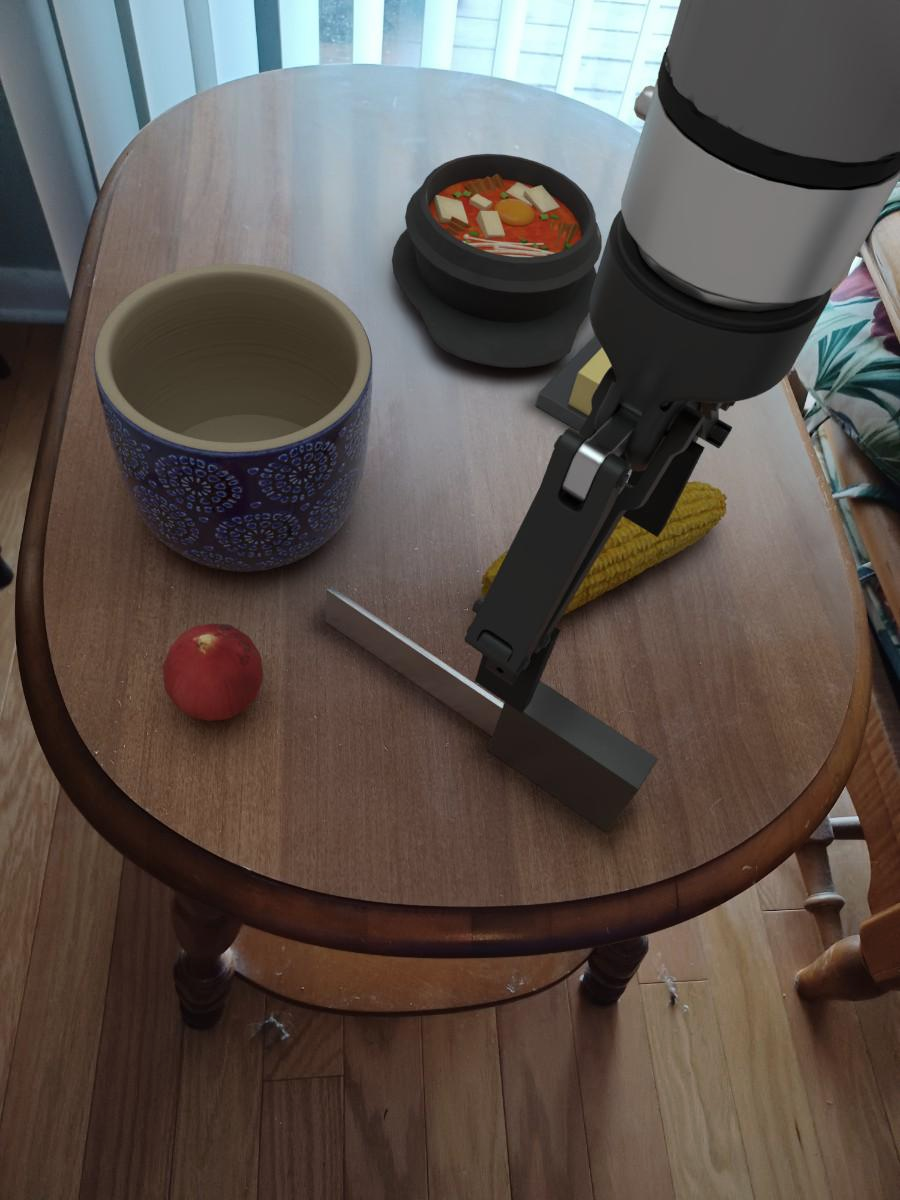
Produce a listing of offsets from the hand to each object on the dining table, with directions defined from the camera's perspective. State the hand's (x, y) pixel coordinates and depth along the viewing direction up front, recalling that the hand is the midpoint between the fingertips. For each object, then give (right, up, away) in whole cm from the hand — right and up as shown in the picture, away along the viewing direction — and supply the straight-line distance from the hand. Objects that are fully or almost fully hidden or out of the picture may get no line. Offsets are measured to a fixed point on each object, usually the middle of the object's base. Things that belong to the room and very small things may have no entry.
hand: (575, 600), depth 48 cm
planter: (-21, +7, +21) cm, 30 cm away
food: (+5, +2, +22) cm, 22 cm away
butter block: (+7, +16, +29) cm, 34 cm away
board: (+9, +18, +32) cm, 38 cm away
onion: (-21, -6, +12) cm, 25 cm away
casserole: (-2, +28, +38) cm, 47 cm away
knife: (-5, -7, +14) cm, 16 cm away
